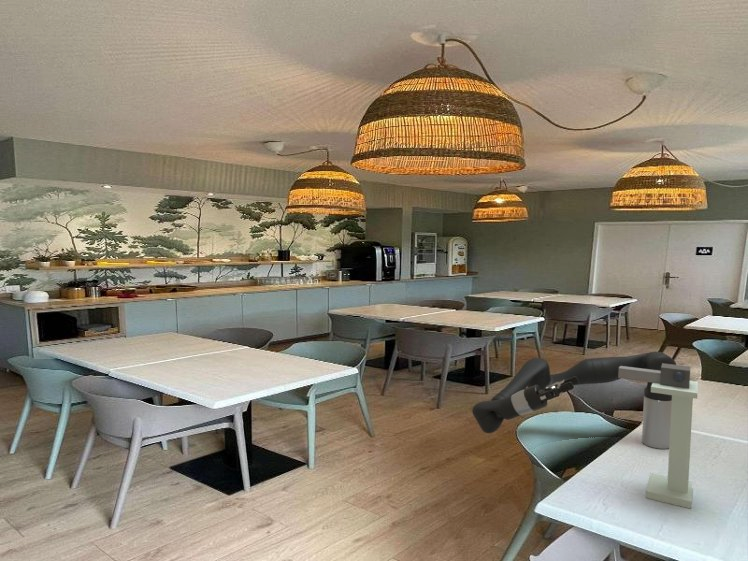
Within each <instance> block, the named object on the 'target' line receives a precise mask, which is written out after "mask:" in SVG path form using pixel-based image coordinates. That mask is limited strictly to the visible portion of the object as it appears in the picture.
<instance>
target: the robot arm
mask: <svg viewBox="0 0 748 561" xmlns="http://www.w3.org/2000/svg"><path fill="white" fill-rule="evenodd" d="M662 363H664V364H673V365H677V362H676V361H675V360H674V358H673V357H671V356H669V355H668V354H666V353H664V352H662V351H650V352H644V353H639V354H635V355H628V356H627V355H626V356H608V357H606V356H605V357H595V358H594V357H593V358H586V359H582V360H580V361H579V362H577V363H576V364H574V365H573V366H572V367H571V366H570V368H568V369H567V370H565V371H562V372H559V373H554V374H553V373H552V374H551V371H550V364H549V362H548V361H547V360H546V359H544V358H541V357H532V358H531V359H528V360H527V361H526V362H525V363H524V364H523V365H522V366H521V368H520V369H519V370H518V371H517V373H516V374H515V375H514V377H513V378H512V379H511V380H510V382H509V383H508V384H507V385H506V386H505V387H504V388H503V389H501V390H500V391H499V392H497V394H495V395H494V396H493V397H492V398H491V400H483V401H479V402H478V403H476V404H475V405H473V407H472V410H471V413H472V415H473V417H474V418H475V421H476V422H477V424H478V425H479V427H480V429H481V431H483V433H485V434H493V433H495V432H496V431H498V430H499V429H500V427H501V425H502V424H503V422H504V420H509V421H510V420H512V419H515V418H518V417H521V416H523V415H528V414H530V413H533V412H536V411H538V410H542V409H544V408H546V407H547V406H548V401H549V400H553V399H555V398H559V396H561V395H563V394H564V393H566V392H569V391H571V390H574V388H575V386H578V385H580V386H581V385H595V384H596V385H597V384H605V383H607V384H608V383H612V382H615V381H618V380H620V379H621V380H622V378H618V372H619V367H620V366H626V367H634V368H642V369H650V370H659V371H661V366H662ZM646 383H647V384H646V387H644V390H643V407H642V408H643V409H642V410H643V411H642V428H641V429H642V431H641V433H642V434H641V443H642V444H643V443H644V444H643V445H645V446H647V447H650V448H653V449H659V450H662V449H663V450H664V449H665V450H666V449H669V444H670V425H671V405H672V395H667V394H660V393H653V392H651V386H652V383H651V382H646Z"/></svg>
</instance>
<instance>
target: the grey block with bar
mask: <svg viewBox="0 0 748 561" xmlns="http://www.w3.org/2000/svg"><path fill="white" fill-rule="evenodd" d="M618 378H621V380H622V379H623V380H631V381H638V382H646V383H647V382H651V383H659V384H660V385H666V386H673V387H681V388H688V389H689V384H690V381H691V366H689V365H680V364H676V365H673V364H664V363H662V366H661V371H659V370H650V369H642V368H634V367H626V366H620V367H619V372H618Z"/></svg>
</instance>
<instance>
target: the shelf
mask: <svg viewBox="0 0 748 561" xmlns="http://www.w3.org/2000/svg"><path fill="white" fill-rule="evenodd" d="M698 386H699V381H695V380H690V384H689V389H688V388H681V387H673V386H666V385H660V384H659V383H652V386H651V392H653V393H660V394H667V395H672V405H671V425H670V444H669V448H668V450H669V451H668V467H667V469H668V470H667V475H663V474H660V473H654V472H650V473H649V477H648V480H647V485H646V489H645V498H646V499H650V500H653V501H657V502H663V503H666V504H670V505H675V506H678V507H679V506H680V507H683V508H686V509H692V503H693V502H692V497H693V481H692V480H690V479H689V476H690V462H691V460H690V459H691V440H692V422H693V419H692V418H693V404H694V403H693V402H694V399H695V400H696V399H698V394H699V393H698V392H699V391H698V389H699V388H698Z"/></svg>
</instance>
